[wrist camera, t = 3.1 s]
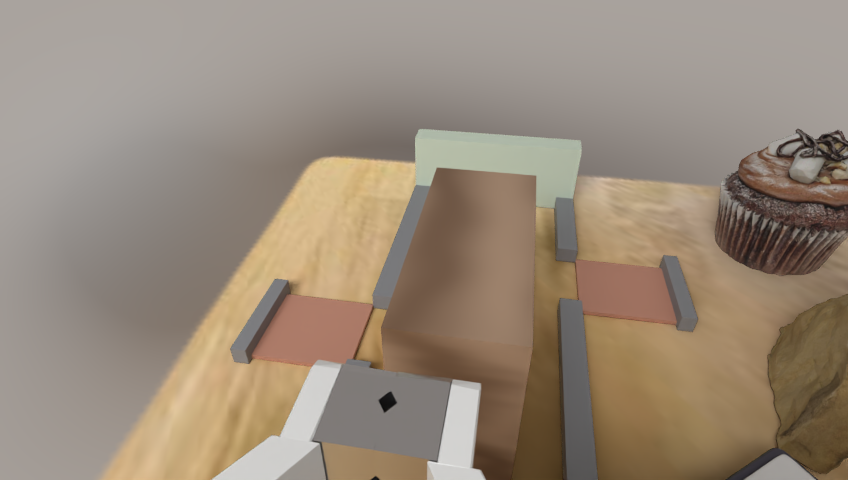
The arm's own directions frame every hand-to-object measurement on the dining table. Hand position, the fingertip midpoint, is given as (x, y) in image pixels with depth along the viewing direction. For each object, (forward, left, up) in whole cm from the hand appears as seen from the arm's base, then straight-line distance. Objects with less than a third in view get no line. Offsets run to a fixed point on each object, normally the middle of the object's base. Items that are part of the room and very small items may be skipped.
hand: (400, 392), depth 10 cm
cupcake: (-23, -34, -18) cm, 45 cm away
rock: (-20, -18, -18) cm, 33 cm away
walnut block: (0, -16, -18) cm, 24 cm away
